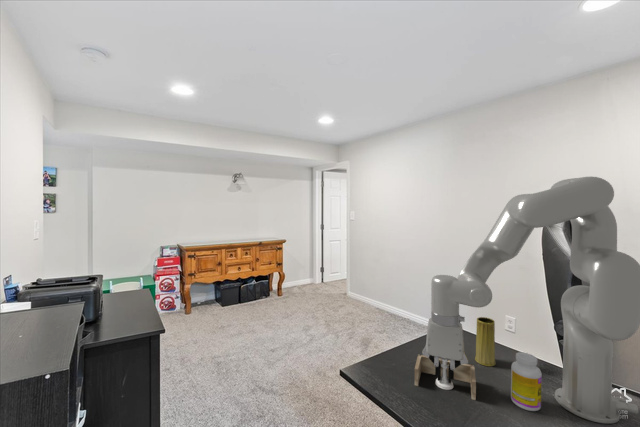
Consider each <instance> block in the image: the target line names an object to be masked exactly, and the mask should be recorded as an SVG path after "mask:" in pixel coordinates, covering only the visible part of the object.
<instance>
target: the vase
mask: <svg viewBox="0 0 640 427" xmlns="http://www.w3.org/2000/svg"><path fill="white" fill-rule="evenodd" d="M495 321H496V320H494V319H493V318H490V317H485V316H483V317H482V316H480V317H477V318H476V332H475V333H476V335H475V336H476V337H475V357H474V361H476V363H478V364H480V365H482V366H485V367H493V366H495V365H497V364H496V363H497V362H496V342H495V341H496V340H495V339H496V338H495V334H496V333H495V332H496V330H495V328H496V326H495V325H496V324H495V323H496V322H495Z"/></svg>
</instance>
